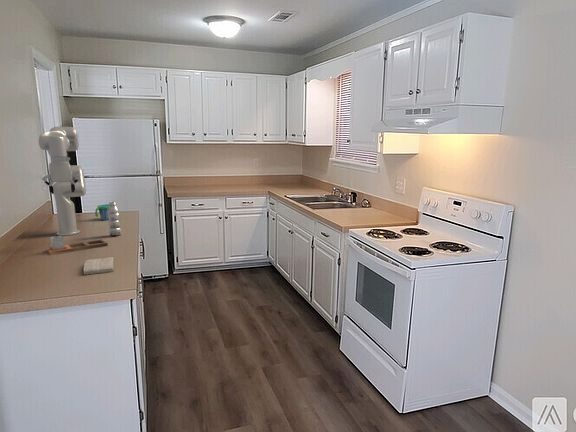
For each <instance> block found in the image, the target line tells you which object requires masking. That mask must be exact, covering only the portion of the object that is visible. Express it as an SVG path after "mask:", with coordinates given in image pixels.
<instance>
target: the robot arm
mask: <svg viewBox="0 0 576 432" xmlns="http://www.w3.org/2000/svg"><path fill="white" fill-rule="evenodd" d="M79 145H80V143H79V133H78V131H77V130H76V128H75V127H74V126H54V127H52V128H50V130H49V131H46V132H42V133H41V134H39V137H38V146H39V148H40V150H42V151H47V153H48V155H49V157H50V162H49V164H48V174H47V175H45V176H43V177H42V178H41V179H42V181H43V182H44V183H45V184H46V185H47V186H48V188H49V192H50V194H51V195H53V197H54V200H55V206H56V214H57V215H56V216H57V224H58V231H57V232H56V235H57V236H62V237H64V236H74V235H79V234H80V233H81V230H80V229H77V227H78V226H77V218H76V217H77V216H76V208H75V203H74V202H73V201H72V200H71V199H70V198H76V197H84V196H85V195H86V193H87V186H86V180H85V179H86V178H85V173H84V169H83V167H82V166H81V165H78V164H77V165H74V164H73V165H71V164H70V161H71V157H68V152H76V151H78V149H79ZM47 179H49V181H48V180H47Z"/></svg>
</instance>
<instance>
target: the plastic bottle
mask: <svg viewBox="0 0 576 432" xmlns="http://www.w3.org/2000/svg"><path fill="white" fill-rule="evenodd" d="M108 204H109V206H110V207H109V208H108V210H107V213H108V217H109V220H108V222H109V223H108V224H109V229H108V232H109V235H110V236H112V237H113V236H114V237H117V236H120V235H121V234H122V228H121V224H120V210H119V208H118V207H117V202H116V201H110V202H108Z"/></svg>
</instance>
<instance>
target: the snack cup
mask: <svg viewBox="0 0 576 432" xmlns="http://www.w3.org/2000/svg"><path fill="white" fill-rule="evenodd" d="M109 207H110V206H109V203H107V204H106V203H105V204H100V205H97V208H96V209H95V211H94V213H95V215H94V216H95V217H100V220H101V221H109V217H108V213H107V210H108V208H109ZM98 213H99V215H98Z"/></svg>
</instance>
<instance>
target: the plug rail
mask: <svg viewBox="0 0 576 432" xmlns="http://www.w3.org/2000/svg"><path fill="white" fill-rule="evenodd" d="M107 246H109V244H108V242H107V241H105V240H104V239H101V238H100V239H96V240H94V239H93V240H88V241H82V242H76V243H74V242H73V243H69V244H64V247H65V249H61V250H54V251H52V249H51V246H50V247H46V248H45V251H46V253H48V254H49V255H50V256H54V255H59V254H65V253H66V254H67V253H72V252H78V251H84V250H90V249H96V248H97V249H98V248H103V247H107Z"/></svg>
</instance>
